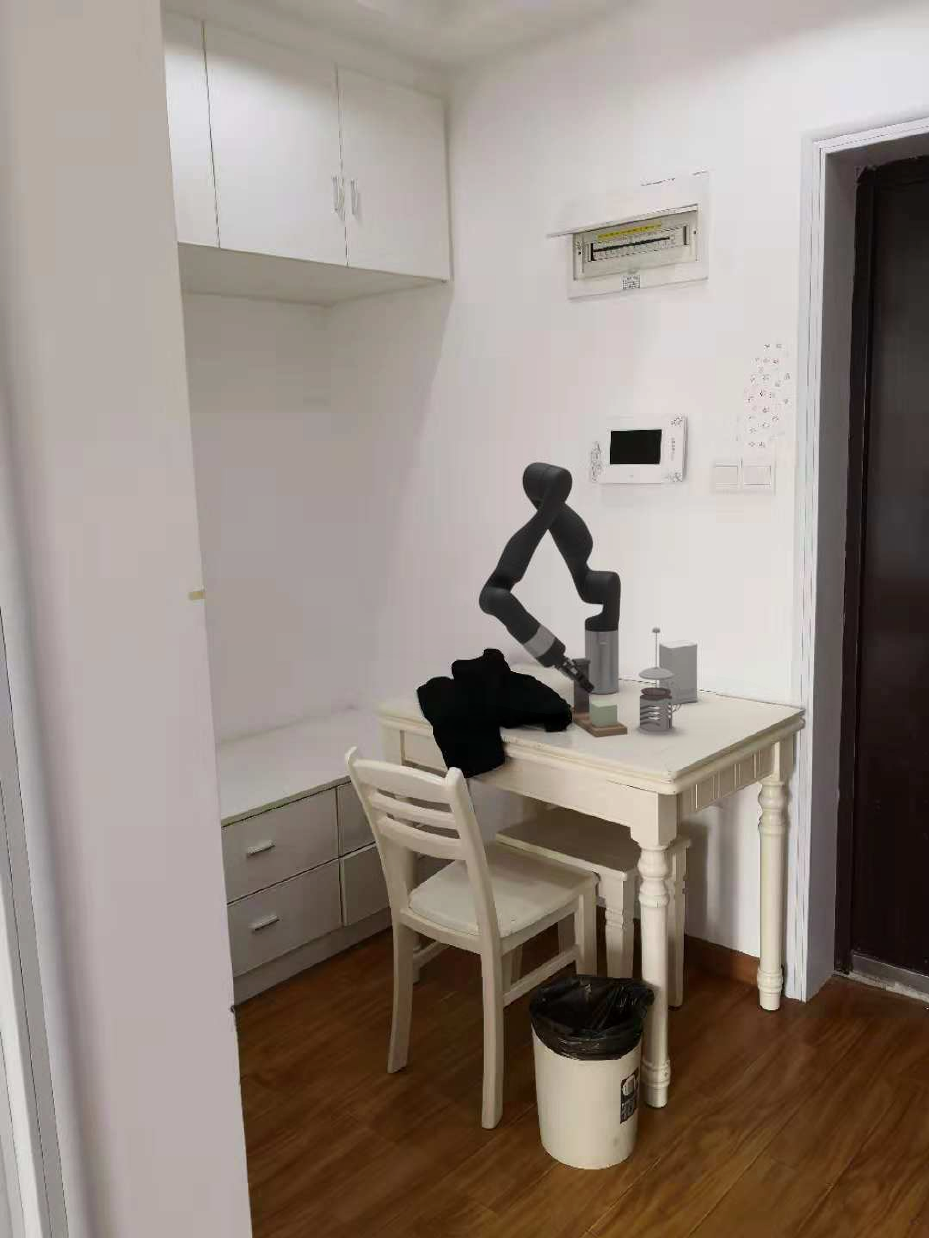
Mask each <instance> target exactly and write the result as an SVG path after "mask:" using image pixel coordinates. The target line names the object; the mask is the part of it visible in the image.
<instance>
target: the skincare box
mask: <svg viewBox="0 0 929 1238" xmlns="http://www.w3.org/2000/svg"><path fill="white" fill-rule="evenodd" d="M658 667H659V668H664V669H667V670H669V671H670V672H672V673H673V677H672V678H670V679H665V680H658V681H659V682H658V683H659V685H658V687H660V688H667V689H669V688H668V686H667V684H668V683H670V684H671V683H672V682H675V683H676V684H677V685H678V686H679V687H680V689H681V692H682V704H687V703H693V702H697V701H698V644H697V643H695V642H692V641H688V640H685V639H683V640H676V641H669V642H661V643H658ZM670 684H669V687H671V685H670ZM676 684H674V683H673V684H672V685H673V686H674V688H675V689H676V691H677V693H678V705H680V704H681V693H680V690H679V688H678V687H677V685H676ZM674 688H673V687H671V688H670V690H671V693H670V694H669V695H671V696H672V697H673V703H672V706H673V705H677V693H676V691H675V689H674ZM666 700H669V702H670V703H671V700H670V699H663V700H660V701H666ZM682 704H681V705H682Z"/></svg>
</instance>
